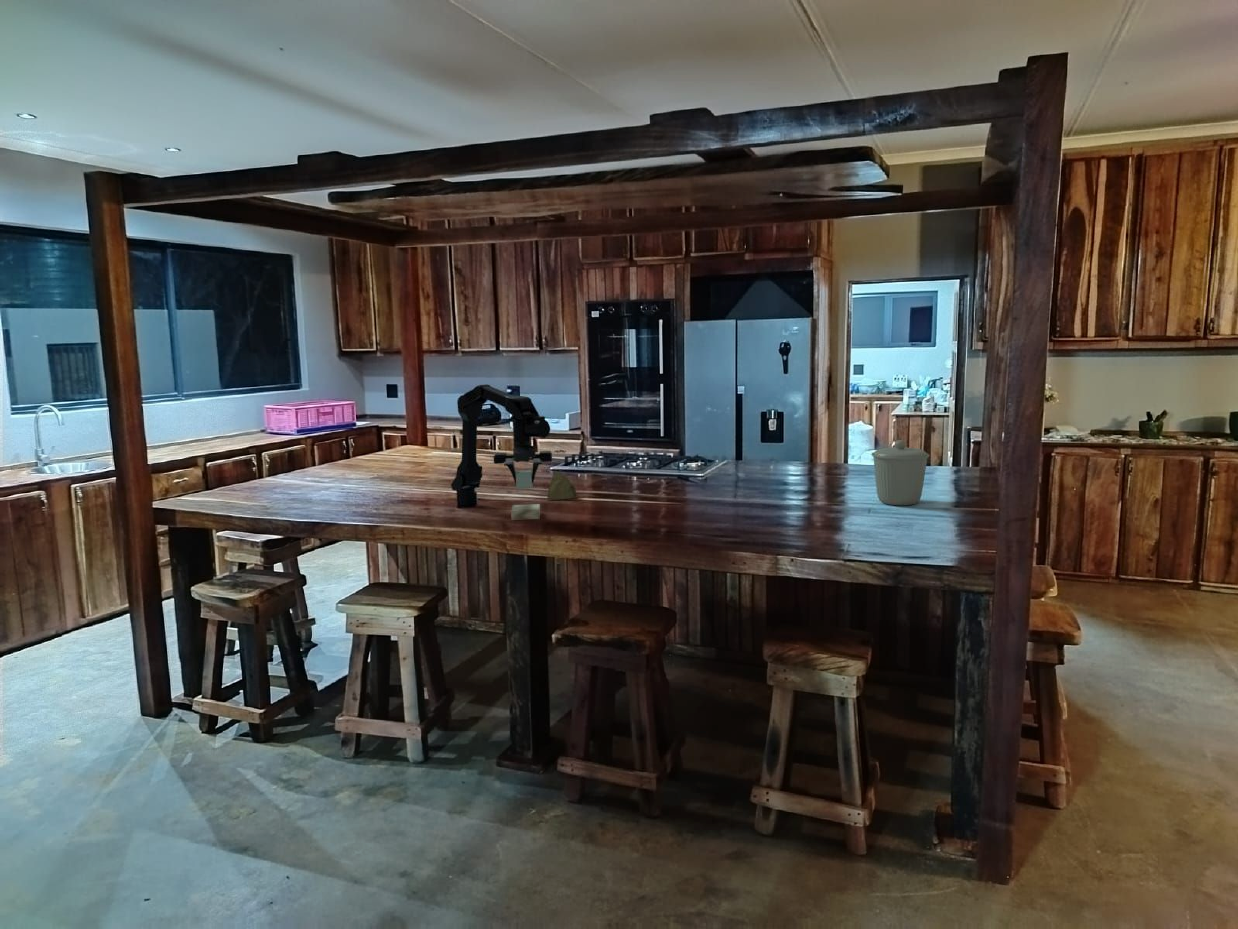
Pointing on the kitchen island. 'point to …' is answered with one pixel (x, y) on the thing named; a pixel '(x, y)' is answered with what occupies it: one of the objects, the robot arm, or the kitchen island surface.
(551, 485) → the rock
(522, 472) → the block
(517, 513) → the plinth
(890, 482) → the canister
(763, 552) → the kitchen island surface
